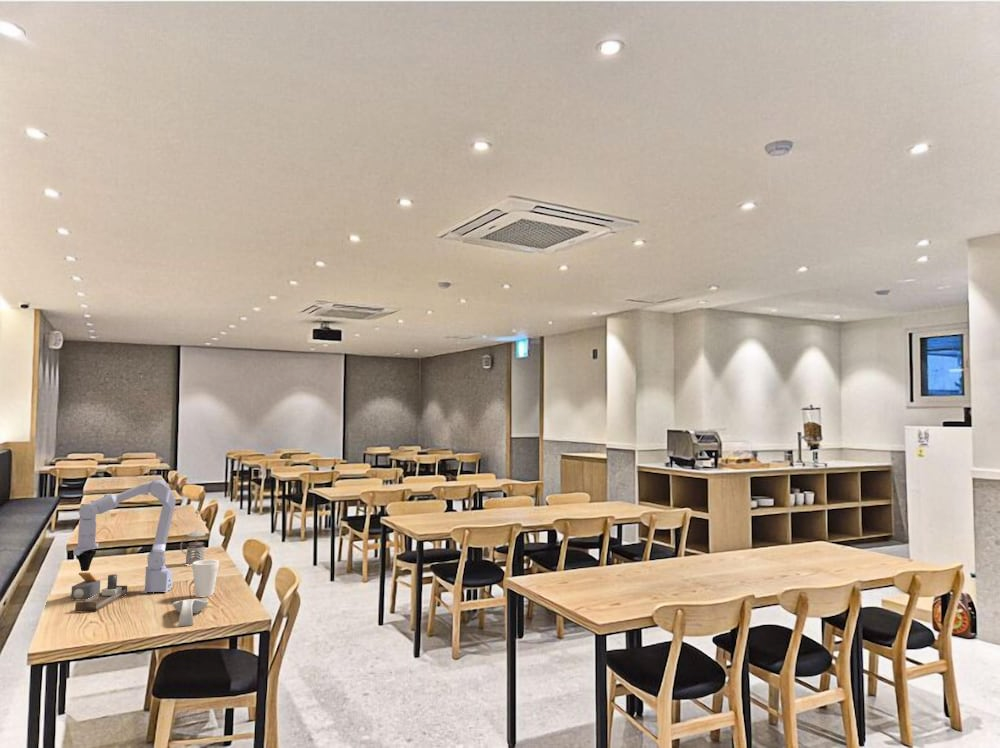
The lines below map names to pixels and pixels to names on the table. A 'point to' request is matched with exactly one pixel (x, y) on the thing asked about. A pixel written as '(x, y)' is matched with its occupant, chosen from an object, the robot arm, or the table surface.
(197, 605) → the spoon rest
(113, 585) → the carriage
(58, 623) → the table surface
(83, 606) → the rail
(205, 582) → the foam cup
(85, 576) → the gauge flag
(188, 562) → the french press
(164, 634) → the table surface
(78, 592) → the box
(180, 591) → the table surface
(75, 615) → the table surface
